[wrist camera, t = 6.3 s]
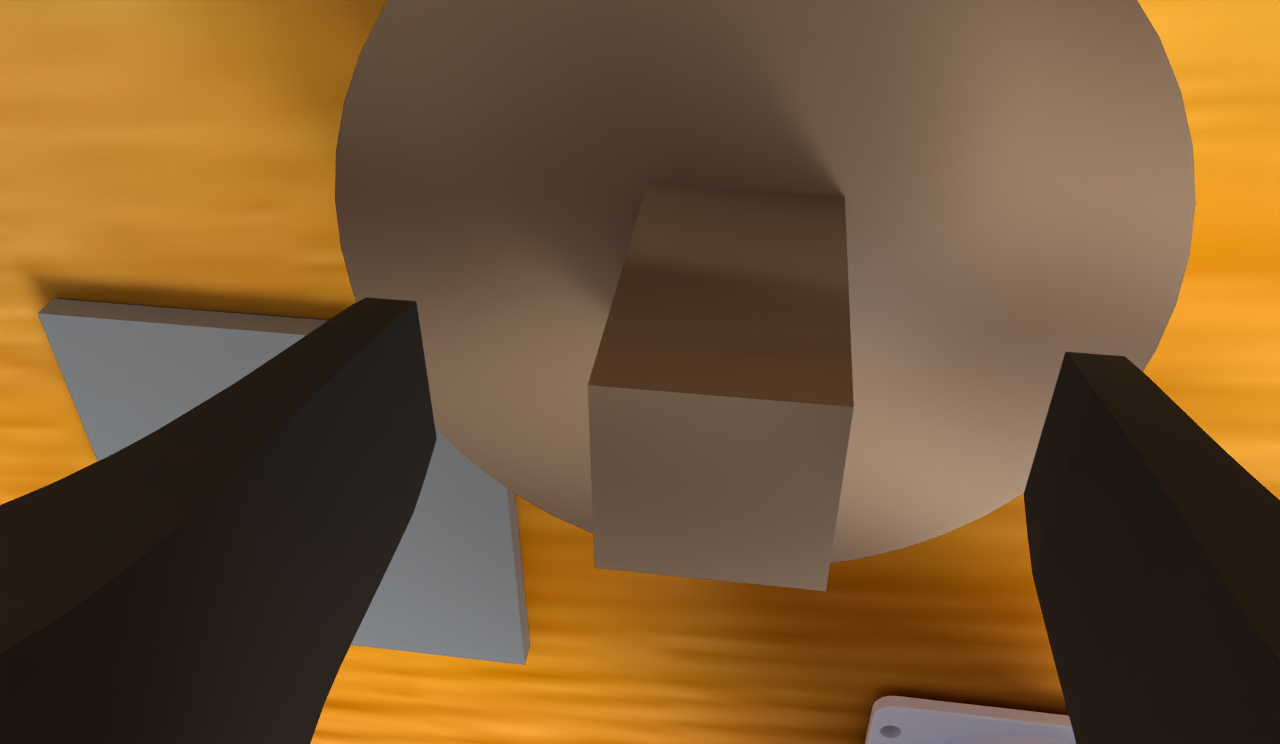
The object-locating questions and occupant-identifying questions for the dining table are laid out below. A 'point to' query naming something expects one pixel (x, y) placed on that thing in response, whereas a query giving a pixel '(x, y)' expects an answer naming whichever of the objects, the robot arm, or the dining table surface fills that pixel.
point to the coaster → (228, 351)
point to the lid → (763, 253)
